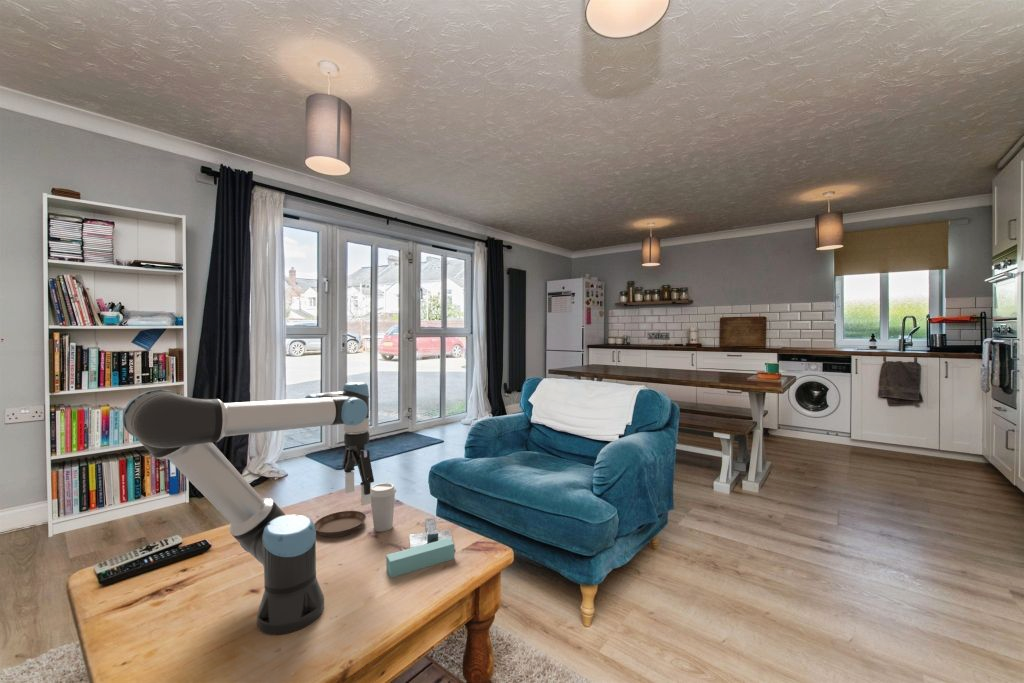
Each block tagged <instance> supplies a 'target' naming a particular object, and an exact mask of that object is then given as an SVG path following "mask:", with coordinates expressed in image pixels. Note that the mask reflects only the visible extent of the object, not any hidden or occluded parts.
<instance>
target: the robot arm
mask: <svg viewBox="0 0 1024 683" xmlns="http://www.w3.org/2000/svg"><path fill="white" fill-rule="evenodd" d="M369 394H370V392H369V384H367V383H366V382H361V381H359V382H358V381H357V382H354V381H352V382H346V383H344V384H343V385H342V390H339V391H330V392H329V391H327V392H316V393H311V394H307V395H306V396H305V397H304V398H298V399H297V398H295V399H278V400H276V399H275V400H258V401H257V400H256V401H241V402H240V401H239V402H238V401H237V402H223V401H222V400H221V399H219V398H195V397H188V396H183V395H181V394H177V393H176V392H174V391H172V390H168V389H154V390H153V389H152V390H148V391H145V392H142V393H140V394H138V395H136V396H135V397H134V398H132V399H131V400H130V401H129V402H128V404H127V405H126V406H125V407H124V410H123V412H122V423H123V428H124V429H125V431H126V432H127V433H128V434H130V435H131V436H132V437H134V438H135V439H136V440H137V441H138V442H139V443H141V444H142V445H143V447H144V448H145V449H146V450H147V451H148V452H149V453H150V454H151V455H152V456H153V457H154V458H155V459H159V460H160V459H161V460H162V459H163V460H166V459H167V460H169V461H170V463H171V464H173V465H174V466H175V467H176V469H177V470H178V471H179V472H180V473H181V474H182V475H183V476H184V477H185V478H186V479H187V480H188V481H189V482H190V483H191V484H192V485H193V486H194V487H195V489H197V490H198V491H199V492H200V493H201V495H203V496H204V498H206V499H207V501H209V502H210V503H211V504H212V506H213V507H214V508H215V509H216V510H217V511H218V512H219V513H220V514H221V515H222V516H223V517H224V518H225V519H226V520H227V521H228V522H229V523H230V526H229V534H230V535H232V536H233V538H234V539H235V540H236V541H237V542H238V543H239V545H240V547H241V548H242V549H243V550H244V551H245V552H247V553H250V554H249V555H251V556H252V557H254V558H255V559H256V560H257V562H259V563H260V564H261V565H262V566H263V574H264V575H263V578H264V579H263V580H264V592H263V593H262V597H261V600H260V604H259V607H258V611H257V612H256V613H257V615H256V625H257V628H258V629H259V631H260V632H262V633H265V634H267V635H268V634H269V635H284V634H288V633H293V632H297V631H298V630H300V629H304V628H305V627H307V626H309V625H310V624H312V623H314V622H315V621H316V620H317V619H318V618H319V617H320V616H321V614H322V613H323V612H324V610H325V597H324V596H325V595H324V594H323V591H322V588H321V586H320V583H319V581H318V578H317V551H316V550H317V549H316V546H317V545H316V541H317V540H316V538H317V531H316V530H315V526H314V524H315V522H314V521H313V520H312V519H311V518H310V517H308V516H306V515H304V514H299V515H298V514H296V513H295V514H294V513H292V514H290V513H289V514H285V512H284V511H283V510H282V509H281V508H280V507H279V505H278V504H277V503H276V502H275V501H274V500H273V499H272V498H270V497H262V496H261V495H260V494H259V493H258V492H257V491H256V490H255V489H254V487H253V486H251V484H250V483H249V482H248V481H247V479H246V478H245V477H244V475H242V474H241V473H240V472H239V471H238V470H237V468H235V466H234V465H233V464H232V462H230V460H229V459H227V457H226V456H225V455H224V454H223V452H222V451H221V450H220V449H219V448H218V447H217V445H215V444H214V443H218V442H220V441H221V439H223V438H224V437H231V436H241V435H249V434H250V435H251V434H259V433H270V432H277V431H287V430H296V429H306V428H308V429H309V428H314V427H325V426H336V425H337V426H338V425H343V432H345V433H344V434H343V439H344V440H343V442H344V443H343V444H344V446H345V448H344V454H343V455H344V456H343V461H342V466H341V468H342V470H343V471H344V484H345V485H344V487H345V490H344V492H345V494H348V493H353V492H355V465H357V469H358V472H359V475H360V479H361V482H360V500H361V502H360V503H361V504H360V505H361V506H367V505H369V504H370V505H371V487H372V485H371V484H372V483H374V482H375V478H374V473H373V469H372V468H373V467H372V463H371V457H370V455H371V454H370V450H369V449H365V446H366V445H367V444H369V443H370V432H369V430H370V422H371V419H370V418H369V417H370V400H369V399H370V395H369Z"/></svg>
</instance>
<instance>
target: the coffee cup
mask: <svg viewBox="0 0 1024 683" xmlns="http://www.w3.org/2000/svg"><path fill="white" fill-rule="evenodd" d="M396 493H397V488H396V487H395V484H393V483H390V482H380V483H377V484H374V485H371V503H370V505H371V506H370V507H371V513H372V522H373V529H374V531H376V532H379V533H381V532H387V531H390V530H391V529H392V528H393V526H394V524H393V523H394V512H395V510H394V509H395V497H396V496H395V495H396Z"/></svg>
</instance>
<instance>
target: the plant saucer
mask: <svg viewBox="0 0 1024 683" xmlns="http://www.w3.org/2000/svg"><path fill="white" fill-rule="evenodd" d="M366 519H367V515H366V514H365V513H364V512H363V511H359V510H343V511H337V512H333V513H330V514H327V515H324V516H322V517H320V518H319V519H318V520H316V521H315V522H314V526H315V532H316V533H318V534H320V535H321V536H322V537H327V538H337V537H338V538H339V537H342V536H347V535H350V534H353V533H354V532H357V531H358V530H359V529H360V528H361V527H362V526H363V524H364V523H365V521H366Z"/></svg>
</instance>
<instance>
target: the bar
mask: <svg viewBox="0 0 1024 683" xmlns="http://www.w3.org/2000/svg"><path fill="white" fill-rule="evenodd" d="M454 546H455V543H454V541H453V542H452V541H451V540H450V539H449V538H447V539H443V540H439V541H436V542H432V543H428V544H424V545H421V546H417V547H413V548H406V549H403V550H399V551H396V552H392V553H389V554H386V555H385V559H386V564H385V566H386V572H387V574H388V575H389V578H390V579H392V578H395V577H399V576H401V575H405V574H407V573H412V572H415V571H418V570H421V569H425V568H428V567H432V566H434V565H438V564H442V563H444V562H448V561H451V560H455V551H454Z"/></svg>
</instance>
